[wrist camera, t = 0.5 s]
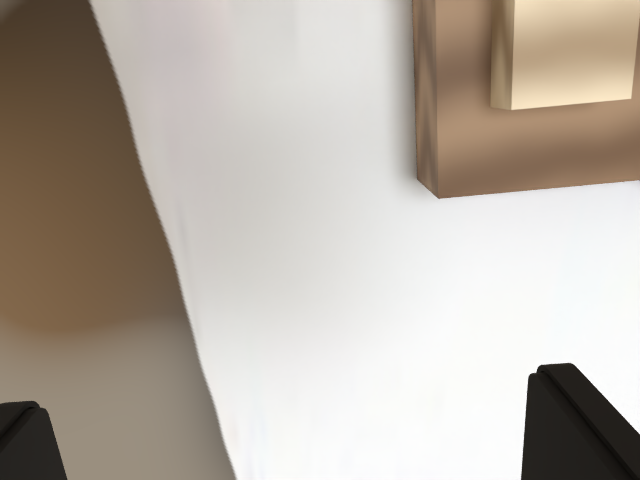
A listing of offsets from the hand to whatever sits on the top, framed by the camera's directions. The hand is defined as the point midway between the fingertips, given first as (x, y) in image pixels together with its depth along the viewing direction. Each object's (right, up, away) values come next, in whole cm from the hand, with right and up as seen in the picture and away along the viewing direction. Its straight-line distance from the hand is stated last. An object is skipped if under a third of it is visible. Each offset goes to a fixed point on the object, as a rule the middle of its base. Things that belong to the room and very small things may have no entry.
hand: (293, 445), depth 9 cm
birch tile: (+13, +15, +17) cm, 26 cm away
